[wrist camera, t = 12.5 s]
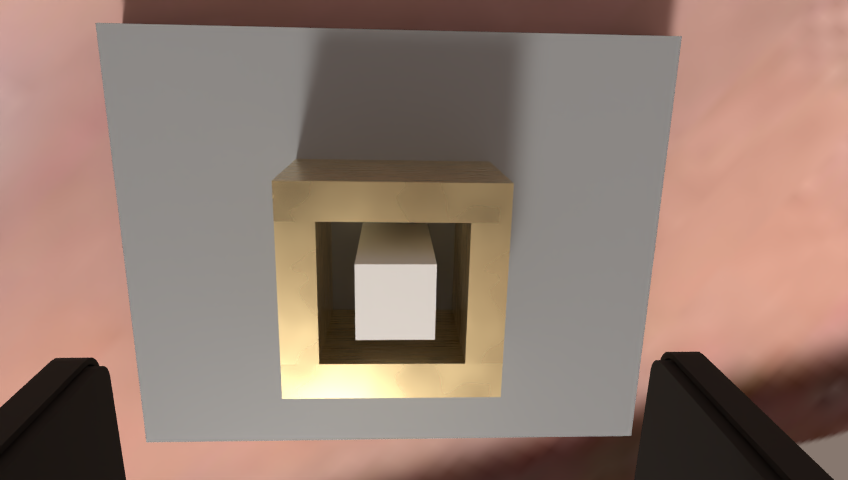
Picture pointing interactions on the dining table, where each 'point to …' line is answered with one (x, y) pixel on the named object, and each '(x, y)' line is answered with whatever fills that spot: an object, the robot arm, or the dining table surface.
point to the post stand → (385, 241)
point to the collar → (335, 329)
